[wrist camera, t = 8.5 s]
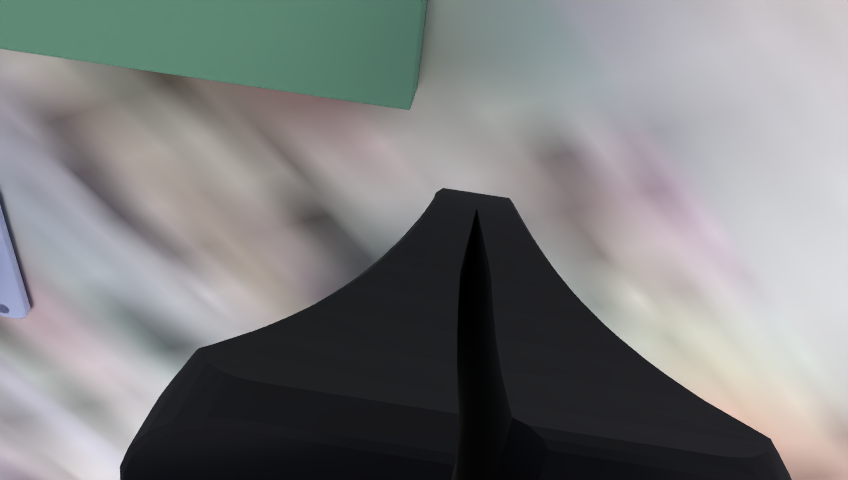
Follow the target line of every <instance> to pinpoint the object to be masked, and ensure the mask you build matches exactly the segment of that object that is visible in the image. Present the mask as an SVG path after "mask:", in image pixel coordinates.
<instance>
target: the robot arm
mask: <svg viewBox="0 0 848 480" xmlns="http://www.w3.org/2000/svg"><path fill="white" fill-rule="evenodd" d="M29 312H30V305H29V301H28V298H27V294H26V291H25V288H24V284H23V281H22V277H21V274H20V271H19V267H18V264H17V260H16V257H15V254H14V250H13V247H12V243H11V240H10V237H9V233H8V230H7V226H6V223H5V220H4V216H3V213H2V209H1V206H0V316H5V317H11V318H24V317H25V316H26V315H27V314H28V313H29ZM120 480H792V479H791V477H790V475H789V473H788V471H787V469H786V467H785V465H784V463H783V461H782V459H781V457H780V455H779V453H778V452H777V450H776V448H775V446H774V444H773V443H772V441H771V439H770V438H768V437H766V436H765V435H763V434H761V433H759V432H758V431H756V430H754V429H753V428H751V427H749V426H747V425H746V424H744V423H742V422H740V421H739V420H737V419H735V418H733V417H732V416H730V415H728V414H727V413H725V412H723V411H721V410H720V409H718V408H716V407H714V406H713V405H711V404H709V403H708V402H706V401H704V400H703V399H701V398H700V397H698V396H697V395H695V394H694V393H692V392H691V391H689V390H688V389H686V388H685V387H683V386H682V385H680V384H679V383H677V382H676V381H674V380H673V379H672V378H670V377H669V376H667V375H666V374H664V373H663V372H662V371H660V370H659V369H658V368H656V367H655V366H654V365H652V364H651V363H650V362H648V361H647V360H646V359H644V358H643V357H642V356H641V355H639V354H638V353H637V352H636V351H635V350H633V349H632V348H631V347H630V346H628V345H627V344H626V343H625V342H624V341H622V340H621V339H620V338H619V337H618V336H617V335H615V334H614V333H613V332H612V331H611V330H610V329H609V328H608V327H607V326H605V325H604V324H603V323H602V322H601V321H600V320H599V319H598V318H597V317H596V316H595V315H594V314H593V313H592V312H591V311H590V310H589V309H588V308H587V307H586V306H585V305H584V304H583V303H582V302H581V301H580V299H579V298H578V297H577V296H576V295H575V294H574V293H573V292H572V290H571V289H570V288H569V287H568V286H567V284H566V283H565V282H564V281H563V280H562V278H561V277H560V276H559V275H558V273H557V272H556V271H555V269H554V268H553V267H552V265H551V264H550V262H549V261H548V260H547V258H546V257H545V255H544V254H543V252H542V251H541V249H540V248H539V246H538V245H537V243H536V242H535V240H534V239H533V237H532V235H531V234H530V232H529V230H528V229H527V227H526V225H525V224H524V222H523V220H522V219H521V217H520V215H519V213H518V211H517V210H516V208H515V206H514V204H513V203H512V201H511V200H510V199H509V198H504V197H498V196H491V195H485V194H478V193H472V192H465V191H458V190H452V189H445V188H443V189H441V190H439V191H438V192H436V194H435V197H434V198H433V200H432V202H431V203H430V205H429V206H428V208H427V209H426V210H425V212H424V213H423V214H422V216H421V217H420V218H419V219H418V221H417V222H416V223H415V224H414V225H413V226H412V227H411V229H410V230H409V231H408V232H407V233H406V234H405V235H404V236H403V237H402V238H401V240H400V241H399V242H397V243H396V244H395V245H394V246H393V247H392V248H391V249H390V250H389V251H388V252H387V253H386V254H385V255H384V256H383V257H382V258H380V259H379V260H378V261H377V262H376V263H375V264H373V265H372V266H371V267H370V268H369V269H367V270H366V271H365V272H363V273H362V274H361V275H359V276H358V277H357V278H355V279H354V280H353V281H351V282H350V283H348V284H347V285H346V286H344V287H342V288H341V289H339V290H338V291H336V292H334V293H333V294H331V295H330V296H328V297H326V298H325V299H323V300H321V301H320V302H318V303H316V304H314V305H312V306H310V307H309V308H306V309H304V310H302V311H300V312H298V313H296V314H294V315H292V316H290V317H287V318H285V319H282V320H280V321H278V322H275V323H273V324H271V325H268V326H266V327H263V328H260V329H258V330H255V331H252V332H249V333H246V334H243V335H240V336H237V337H234V338H231V339H228V340H225V341H222V342H219V343H216V344H213V345H209V346H206V347H202V348H199V349H198V350H196V351H195V353H194V354H193V355H192V356H191V358H190V359H189V360H188V361H187V363H186V364H185V365H184V366H183V368H182V369H181V370H180V371H179V372H178V374H177V375H176V376H175V377H174V378H173V380H172V381H171V382H170V384H169V385H168V386H167V387H166V389H165V390H164V391H163V393H162V394H161V395H160V397H159V398H158V400H157V402H156V403H155V405H154V406H153V408H152V410H151V411H150V413H149V414H148V416H147V418H146V419H145V421H144V423H143V424H142V426H141V428H140V429H139V431H138V433H137V434H136V436H135V438H134V439H133V441H132V443H131V444H130V446H129V448H128V450H127V452H126V454H125V456H124V459H123V461H122V463H121V465H120Z"/></svg>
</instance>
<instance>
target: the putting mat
mask: <svg viewBox="0 0 848 480" xmlns="http://www.w3.org/2000/svg"><path fill="white" fill-rule="evenodd" d="M426 5H427V0H0V49H6V50H13V51H20V52H26V53H33V54H40V55H46V56H53V57H60V58H66V59H73V60H80V61H86V62H93V63H100V64H106V65H113V66H120V67H126V68H133V69H140V70H146V71H153V72H160V73H166V74H173V75H180V76H187V77H193V78H200V79H207V80H213V81H220V82H227V83H233V84H240V85H247V86H253V87H260V88H267V89H273V90H280V91H287V92H293V93H300V94H307V95H313V96H320V97H327V98H333V99H340V100H347V101H353V102H360V103H367V104H373V105H380V106H387V107H393V108H400V109H407V110H410V108H411V105H412V102H413V99H414V96H415V93H416V90H417V84H418V75H419V67H420V58H421V49H422V40H423V32H424V23H425V14H426Z"/></svg>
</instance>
